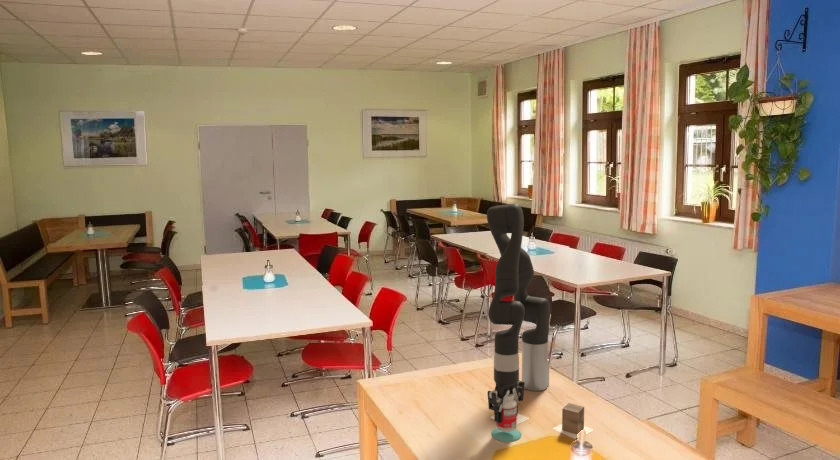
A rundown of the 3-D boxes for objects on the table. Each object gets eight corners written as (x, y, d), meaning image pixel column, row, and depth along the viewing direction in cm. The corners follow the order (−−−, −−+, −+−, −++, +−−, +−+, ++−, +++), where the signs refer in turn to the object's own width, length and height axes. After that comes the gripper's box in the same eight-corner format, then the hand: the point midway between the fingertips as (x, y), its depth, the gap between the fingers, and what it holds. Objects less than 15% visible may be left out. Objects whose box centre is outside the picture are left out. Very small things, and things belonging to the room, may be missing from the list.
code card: (509, 409, 198) (509, 409, 198) (529, 419, 191) (529, 418, 191) (489, 417, 193) (489, 417, 193) (510, 427, 186) (510, 427, 186)
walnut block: (568, 424, 187) (568, 402, 186) (583, 428, 184) (584, 406, 183) (562, 430, 183) (562, 408, 182) (577, 434, 180) (578, 412, 179)
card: (570, 420, 190) (570, 419, 190) (594, 430, 183) (594, 429, 183) (551, 429, 184) (551, 428, 184) (575, 439, 178) (575, 439, 177)
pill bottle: (494, 423, 184) (495, 389, 183) (514, 423, 184) (515, 389, 183) (497, 432, 178) (497, 397, 176) (517, 432, 178) (518, 397, 176)
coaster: (505, 425, 188) (505, 424, 187) (527, 435, 181) (527, 434, 180) (485, 434, 182) (485, 432, 182) (507, 445, 175) (507, 444, 175)
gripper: (513, 357, 186) (513, 408, 188) (480, 368, 177) (480, 421, 179) (532, 363, 180) (531, 416, 182) (498, 375, 171) (498, 430, 173)
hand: (506, 418), depth 181 cm, fingers closed on pill bottle, 6 cm apart
